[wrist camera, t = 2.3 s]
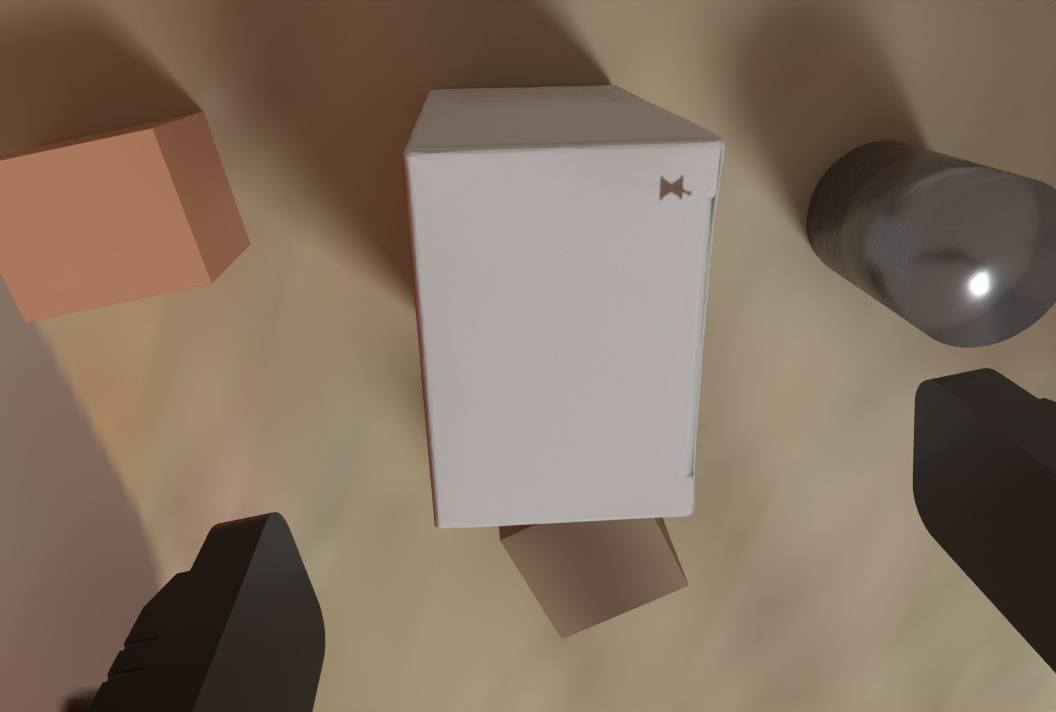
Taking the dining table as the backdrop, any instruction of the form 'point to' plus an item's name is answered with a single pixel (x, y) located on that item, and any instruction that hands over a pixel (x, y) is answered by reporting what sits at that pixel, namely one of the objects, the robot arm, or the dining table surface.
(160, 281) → the terracotta block
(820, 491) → the dining table surface
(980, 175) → the slate grey cylinder
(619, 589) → the walnut block
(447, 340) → the small box
